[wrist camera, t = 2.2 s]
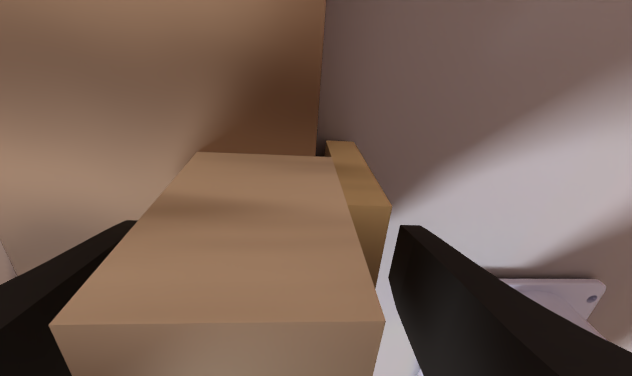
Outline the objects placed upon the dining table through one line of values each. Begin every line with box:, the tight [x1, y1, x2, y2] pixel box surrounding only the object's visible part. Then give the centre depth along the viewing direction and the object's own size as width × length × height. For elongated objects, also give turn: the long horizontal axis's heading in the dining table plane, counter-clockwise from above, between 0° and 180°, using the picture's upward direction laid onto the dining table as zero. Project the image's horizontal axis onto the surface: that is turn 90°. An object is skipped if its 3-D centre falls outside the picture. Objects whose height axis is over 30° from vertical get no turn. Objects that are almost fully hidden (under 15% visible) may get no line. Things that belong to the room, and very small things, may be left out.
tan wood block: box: [49, 140, 392, 376], centre depth 8 cm, size 5×5×8 cm
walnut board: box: [0, 0, 326, 276], centre depth 9 cm, size 22×10×2 cm, turn 176°
